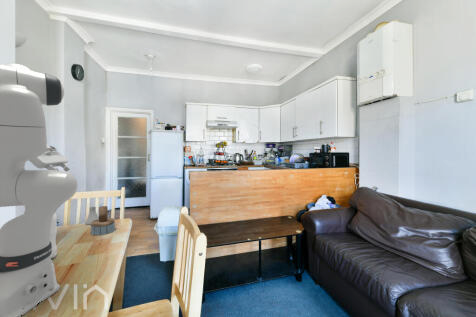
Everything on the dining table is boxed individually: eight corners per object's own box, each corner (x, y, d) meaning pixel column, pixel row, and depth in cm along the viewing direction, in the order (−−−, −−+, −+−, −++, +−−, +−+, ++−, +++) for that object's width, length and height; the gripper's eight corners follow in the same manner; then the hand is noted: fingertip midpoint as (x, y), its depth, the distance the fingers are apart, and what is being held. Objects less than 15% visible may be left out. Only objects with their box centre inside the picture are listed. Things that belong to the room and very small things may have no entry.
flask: (92, 225, 120) (92, 209, 119) (82, 224, 121) (82, 208, 121) (102, 221, 127) (102, 206, 126) (93, 220, 128) (93, 205, 128)
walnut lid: (108, 226, 107) (108, 209, 107) (86, 227, 106) (86, 209, 106) (118, 219, 118) (118, 204, 118) (98, 220, 117) (98, 204, 117)
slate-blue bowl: (108, 235, 108) (108, 226, 107) (86, 235, 106) (86, 227, 106) (118, 227, 118) (118, 219, 118) (98, 227, 117) (98, 219, 117)
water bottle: (45, 264, 79) (45, 201, 78) (27, 263, 79) (27, 201, 79) (61, 255, 86) (61, 197, 86) (45, 254, 87) (45, 197, 86)
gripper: (29, 146, 88) (56, 168, 92) (56, 147, 108) (78, 165, 111) (16, 156, 87) (44, 178, 90) (46, 155, 107) (68, 173, 110)
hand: (63, 171), depth 101 cm, fingers open, 8 cm apart
